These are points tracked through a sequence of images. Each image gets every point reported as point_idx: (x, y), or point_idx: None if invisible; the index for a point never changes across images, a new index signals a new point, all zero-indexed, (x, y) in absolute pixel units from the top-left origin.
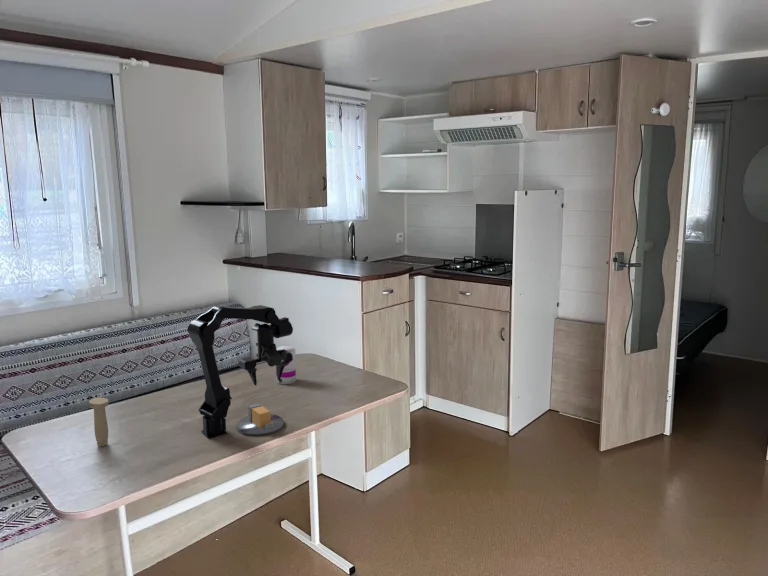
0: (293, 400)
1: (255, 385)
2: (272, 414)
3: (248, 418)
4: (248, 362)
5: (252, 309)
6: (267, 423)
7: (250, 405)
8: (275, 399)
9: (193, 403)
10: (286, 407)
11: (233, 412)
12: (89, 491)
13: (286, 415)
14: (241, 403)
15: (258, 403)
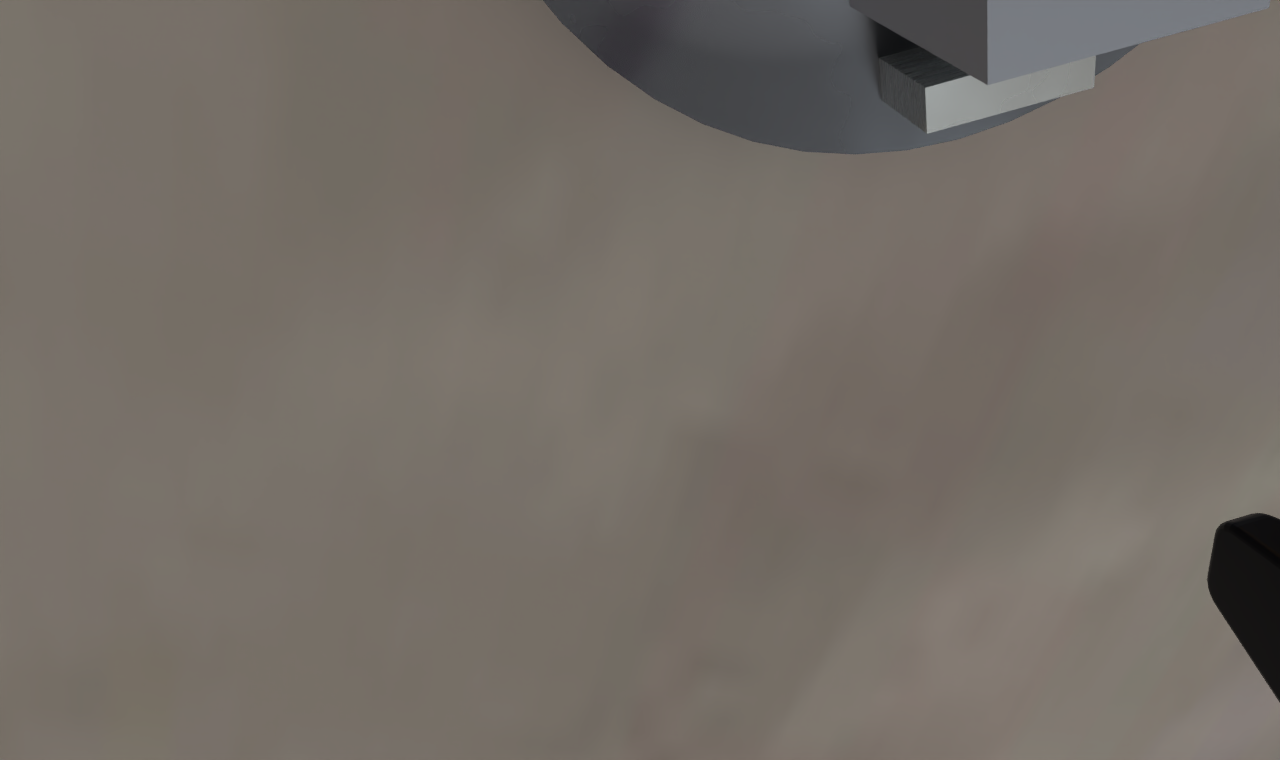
0: (84, 612)
1: (1253, 515)
2: (574, 17)
3: None
4: None
5: None
6: None
7: (1207, 19)
8: (376, 688)
9: (1244, 736)
10: (230, 384)
11: (1033, 427)
12: None
13: (265, 6)
14: (833, 655)
15: (989, 84)
